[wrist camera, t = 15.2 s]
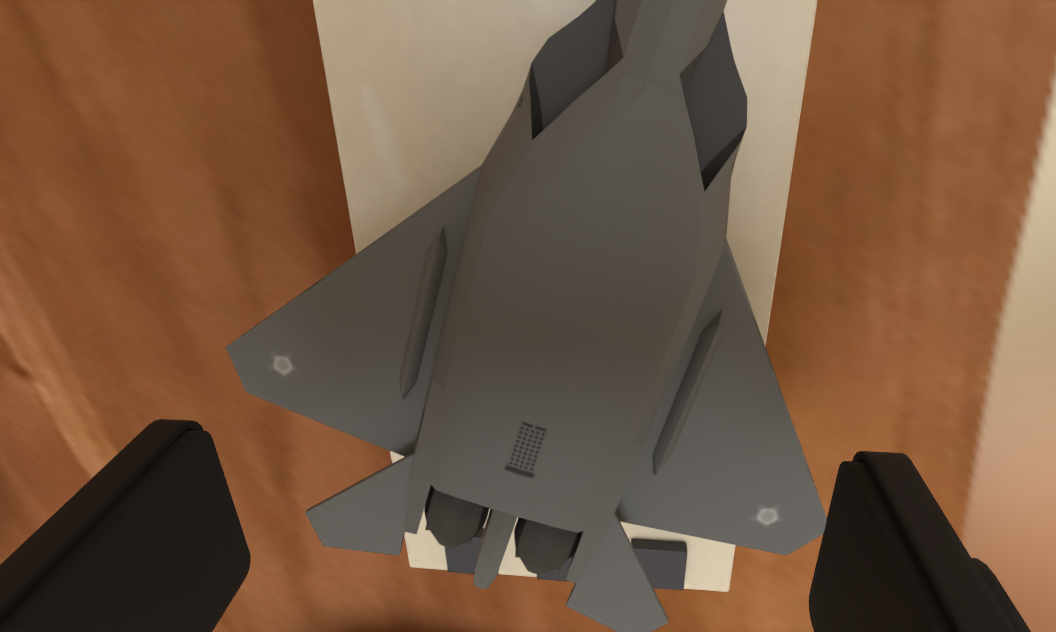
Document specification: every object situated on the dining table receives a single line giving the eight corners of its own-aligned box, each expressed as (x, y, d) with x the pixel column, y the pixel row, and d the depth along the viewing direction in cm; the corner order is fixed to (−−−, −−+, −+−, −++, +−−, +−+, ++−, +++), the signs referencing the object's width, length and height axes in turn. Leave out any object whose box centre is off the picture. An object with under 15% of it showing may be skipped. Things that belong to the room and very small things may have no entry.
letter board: (308, -142, 13) (275, -156, 12) (830, -181, 12) (855, -200, 10) (417, 543, 22) (405, 578, 20) (724, 566, 20) (731, 604, 19)
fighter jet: (276, -718, 7) (395, -440, 11) (183, 528, 14) (275, 426, 18) (1435, -380, 7) (1138, -221, 11) (763, 704, 14) (729, 563, 18)
